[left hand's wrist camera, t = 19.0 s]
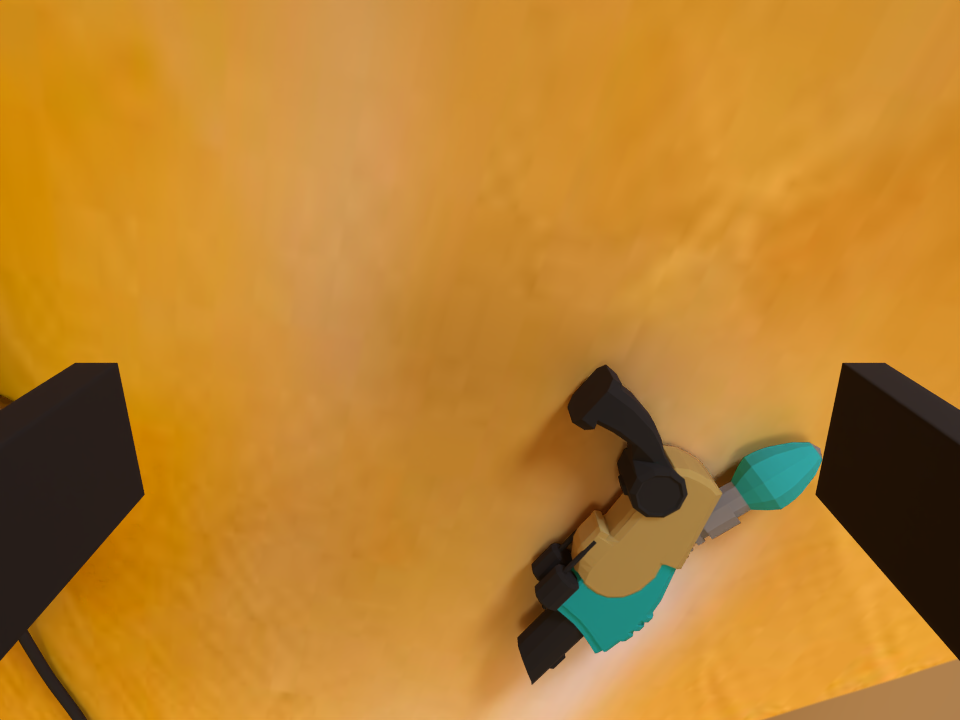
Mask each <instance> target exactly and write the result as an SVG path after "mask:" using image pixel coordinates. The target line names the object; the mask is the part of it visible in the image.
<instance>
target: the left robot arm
mask: <svg viewBox="0 0 960 720" xmlns="http://www.w3.org/2000/svg"><path fill="white" fill-rule="evenodd" d="M144 495H145V494H144V490H143V485H142V480H141V475H140V470H139V465H138V460H137V456H136V451H135V446H134V441H133V436H132V431H131V426H130V422H129V417H128V412H127V407H126V402H125V397H124V392H123V388H122V383H121V378H120V373H119V368H118V363H74V364H73V365H71V366H70V367H68V368H66V369H65V370H63V371H62V372H60V373H58V374H57V375H55V376H54V377H52V378H50V379H49V380H47V381H46V382H44V383H42V384H41V385H39V386H38V387H36V388H35V389H33V390H31V391H30V392H28V393H27V394H25V395H23V396H22V397H20V398H19V399H17V400H15V401H14V402H13V401H11V400H9V399H8V398H6V397H3V396H1V395H0V660H1V659H2V658H3V657H4V656H5V655H6V653H7V652H8V651H9V650H10V649H11V648H12V647H13V645H14V644H15V643H16V642H17V641H18V640H19V642H20V644H21V645H22V647H23V649H24V650H25V652H26V654H27V655H28V657H29V658H30V660H31V662H32V663H33V665H34V667H35V668H36V670H37V671H38V673H39V674H40V676H41V677H42V679H43V680H44V682H45V683H46V685H47V686H48V688H49V689H50V690H51V692H52V693H53V694H54V696H55V697H56V698H57V700H58V701H59V702H60V704H61V705H62V706H63V708H64V709H65V710H66V712H67V713H68V714H69V716H70V717H71V718H72V720H87V719H86V717H85V716H84V714H83V713H82V712H81V710H80V709H79V707H78V706H77V705H76V703H75V702H74V701H73V699H72V698H71V697H70V695H69V694H68V693H67V691H66V690H65V688H64V687H63V686H62V684H61V683H60V682H59V680H58V679H57V677H56V676H55V674H54V673H53V671H52V670H51V668H50V667H49V665H48V664H47V662H46V660H45V659H44V657H43V655H42V654H41V652H40V651H39V649H38V647H37V645H36V644H35V642H34V640H33V639H32V637H31V635H30V633H29V632H28V630H27V629H28V628H29V627H30V626H31V625H32V624H33V622H34V621H35V620H36V619H37V618H38V617H39V615H40V614H41V613H42V612H43V611H44V610H45V609H46V607H47V606H48V605H49V604H50V603H51V602H52V601H53V599H54V598H55V597H56V596H57V595H58V594H59V592H60V591H61V590H62V589H63V588H64V587H65V586H66V584H67V583H68V582H69V581H70V580H71V579H72V578H73V576H74V575H75V574H76V573H77V572H78V571H79V569H80V568H81V567H82V566H83V565H84V564H85V563H86V561H87V560H88V559H89V558H90V557H91V556H92V554H93V553H94V552H95V551H96V550H97V549H98V548H99V546H100V545H101V544H102V543H103V542H104V541H105V540H106V538H107V537H108V536H109V535H110V534H111V533H112V531H113V530H114V529H115V528H116V527H117V526H118V525H119V523H120V522H121V521H122V520H123V519H124V518H125V517H126V515H127V514H128V513H129V512H130V511H131V510H132V508H133V507H134V506H135V505H136V504H137V503H138V502H139V500H140V499H141V498H142V497H143V496H144ZM815 495H816V496H817V497H818V498H819V499H820V500H821V502H822V503H823V504H824V505H825V506H826V507H827V508H828V510H829V511H830V512H831V513H832V514H833V515H834V517H835V518H836V519H837V520H838V521H839V522H840V523H841V525H842V526H843V527H844V528H845V529H846V530H847V531H848V533H849V534H850V535H851V536H852V537H853V538H854V540H855V541H856V542H857V543H858V544H859V545H860V546H861V548H862V549H863V550H864V551H865V552H866V553H867V554H868V556H869V557H870V558H871V559H872V560H873V561H874V563H875V564H876V565H877V566H878V567H879V568H880V569H881V571H882V572H883V573H884V574H885V575H886V576H887V578H888V579H889V580H890V581H891V582H892V583H893V584H894V586H895V587H896V588H897V589H898V590H899V591H900V592H901V594H902V595H903V596H904V597H905V598H906V599H907V601H908V602H909V603H910V604H911V605H912V606H913V607H914V609H915V610H916V611H917V612H918V613H919V614H920V615H921V617H922V618H923V619H924V620H925V621H926V622H927V624H928V625H929V626H930V627H931V628H932V629H933V630H934V632H935V633H936V634H937V635H938V636H939V637H940V639H941V640H942V641H943V642H944V643H945V644H946V645H947V647H948V648H949V649H950V650H951V651H952V652H953V653H954V655H955V656H956V657H957V658H958V659H959V660H960V410H959V409H957V408H956V407H954V406H953V405H951V404H949V403H948V402H946V401H945V400H943V399H941V398H940V397H938V396H937V395H935V394H933V393H932V392H930V391H929V390H927V389H925V388H924V387H922V386H921V385H919V384H918V383H916V382H914V381H913V380H911V379H910V378H908V377H906V376H905V375H903V374H902V373H900V372H898V371H897V370H895V369H894V368H892V367H890V366H889V365H887V364H886V363H842V368H841V373H840V378H839V383H838V388H837V392H836V397H835V402H834V407H833V412H832V417H831V422H830V426H829V431H828V436H827V441H826V446H825V451H824V456H823V460H822V465H821V470H820V475H819V480H818V485H817V489H816V494H815Z"/></svg>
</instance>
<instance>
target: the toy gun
mask: <svg viewBox="0 0 960 720" xmlns="http://www.w3.org/2000/svg"><path fill="white" fill-rule="evenodd" d="M567 407H568V410H569V414H570V417H571V420H572V423H574V424H576V425H577V426H579V427H581V428H582V429H584V430H589V429H595V426H596V424H598V425H600V426H602V427H604V428H606V429H608V430H610V431H612V432H614V433H615V434H616V435H618V436H619V437H621V438H622V439H624V440H625V441H627V444H628V448H626V449H624V451H623V453H622V455H621V457H620V459H619V461H618V463H617V464H618V469H619V473H620V476H618V478H619V482H620V486H621V488H622V491H623V493H622V495H621V496H620V497H619V498H618V499H617V501H616V502H615V503H614V504H613V506H612V507H611V508H610V509H609V510H608V512H607V513H606V514H605V515H602V511H597V510H594V511H593V512H592V513H591V515H590V516H589V517H588V518H587V519H586V520H585V521H584V522H583V523H582V524H581V525H580V526H579V527H578V528H577V529H576V530H575V531H574V533H573V534H572V535H571V536H570V537H569V538H568V539H567V540H566V541H565V542H564V543H563V544H562V545H560V544H558V543H553V544H551V545H550V546H549V547H548V548H547V549H546V550H545V551H544V552H543V553H542V554H541V555H540V556H539V557H538V559H537V560H536V561H535V562H534V563H533V564H532V570H533V574H534V575H535V577H536V579H537V580H538V581H539V583H538V584H537V585H536V586H535V593H536V597H537V598H538V600H539V602H540V603H541V604H542V607H543V608H544V609H546V610H545V611H544V612H543V613H542V614H541V615H540V616H539V617H538V618H537V619H536V620H535V621H534V622H533V623H532V624H531V625H530V626H529V627H528V628H527V629H526V630H525V631H524V632H523V633H522V634H521V635H520V636H519V637H518V647H519V650H520V654H521V657H522V660H523V662H524V665H525V668H526V670H527V673H528V675H529V677H530V680H531V683H532V684H533V683H534V682H536V681H537V680H538V679H539V678H540V677H541V676H542V675H543V674H544V673H545V672H546V671H547V670H548V669H549V668H550V669H554V668H555V667H556V666H557V665H558V664H559V663H560V662H561V661H562V660H563V659H564V658H565V653H566V652H567V651H568V650H569V649H570V648H572V647H573V646H574V645H575V644H576V643H577V642H578V641H579V640H580V639H581V638H582V637H583V636H584V637H585V638H586V640H587V641H588V643H589V644H590V646H591V648H592V649H593V651H594V652H595V653H598V652H600V651H602V650H603V651H604V652H606V651H608V650H609V649H610V648H612V647H613V646H615V645H616V644H617V643H619V642H620V641H626V640H628V639H629V638H631V637H632V636H633V631H640V630H641V629H642V628H643V627H644V622H649V621H650V620H651V619H652V618H653V611H654V610H655V608H656V607H657V606H658V604H659V603H660V601H661V600H662V597H663V595H664V593H665V591H666V589H667V587H668V585H669V583H670V580H671V578H672V576H673V574H674V572H675V570H676V569H681V568H682V566H683V564H684V562H685V561H686V559H687V558H688V557H689V556H688V555H689V553H690V552H691V551H693V546H694V544H695V543H697V544H698V545H700V544H702V543H703V542H705V539H704V538H706V537H707V536H710V537H711V538H712V539H714V538H715V537H717V536H719V535H721V534H722V533H724V532H726V531H727V530H729V529H731V528H733V527H734V526H736V525H738V524H740V521H739V520H738V518H737V517H739V516H741V515H742V514H744V513H746V512H748V511H749V510H776V509H782V508H784V507H785V506H787V505H788V504H790V503H791V502H792V501H793V500H795V499H796V498H797V497H798V496H799V495H800V494H801V493H802V492H803V490H804V489H805V488H806V486H807V485H808V484H809V483H810V481H811V480H812V479H813V477H814V476H815V475H816V473H817V470H818V468H819V466H820V464H821V462H822V456H821V451H820V448H818V447H817V446H815V445H813V444H811V443H809V442H791V443H786V444H781V445H775V446H770V447H766V448H763V449H760V450H757V451H755V452H753V453H751V454H749V455H747V456H745V457H744V458H743V459H742V461H741V462H740V464H739V466H738V467H737V469H736V471H735V473H734V476H733V478H732V480H731V481H730V482H729V483H727V484H725V485H724V486H722V487H720V488H719V487H718V486H717V484H716V483H715V481H714V480H713V478H712V477H711V475H710V474H709V472H708V471H707V469H706V468H705V467H704V466H703V465H702V463H701V462H700V461H699V460H698V459H697V458H695V457H694V456H692V455H691V454H689V453H688V452H686V451H684V450H681V449H679V448H677V447H673V446H665V445H663V444H662V440H661V437H660V435H659V433H658V430H657V428H656V426H655V423H654V421H653V420H652V418H651V416H650V415H649V413H648V412H647V410H646V409H645V408H644V407H643V406H642V405H641V403H640V402H639V401H638V400H637V399H636V397H635V396H634V395H633V394H632V393H631V392H630V391H629V390H627V389H626V388H625V387H623V386H622V383H621V382H620V380H619V378H618V376H617V374H616V373H615V372H614V371H613V370H611V369H610V368H609V367H608V366H607V365H604V366H602V367H599V368H597V369H596V370H595V371H594V372H593V373H592V374H591V376H590V377H589V378H588V379H587V380H586V381H585V382H584V383H583V384H582V385H581V386H580V388H579V389H578V390H577V391H576V392H575V393H574V394H573V396H572V398H571V400H570V402H569V404H568V406H567ZM572 541H573V545H572V551H571V553H570V552H569V551H568V550H567V549H566V547H567V546H568V545H569V544H570V543H571V542H572Z"/></svg>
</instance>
